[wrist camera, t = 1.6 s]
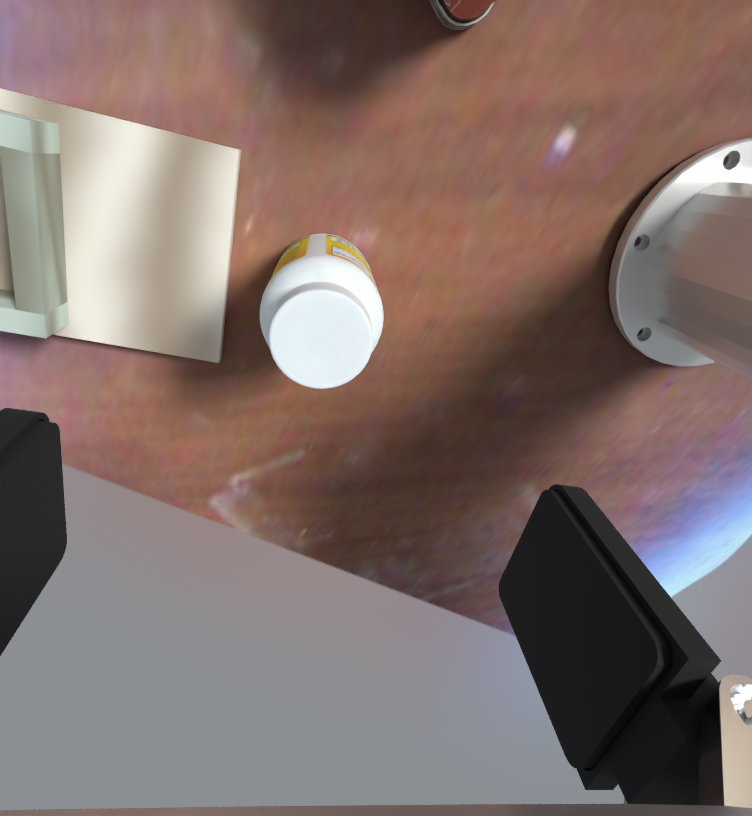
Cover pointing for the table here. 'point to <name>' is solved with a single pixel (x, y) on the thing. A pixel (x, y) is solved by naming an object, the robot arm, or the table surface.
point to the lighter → (461, 12)
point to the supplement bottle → (321, 312)
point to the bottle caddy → (113, 230)
